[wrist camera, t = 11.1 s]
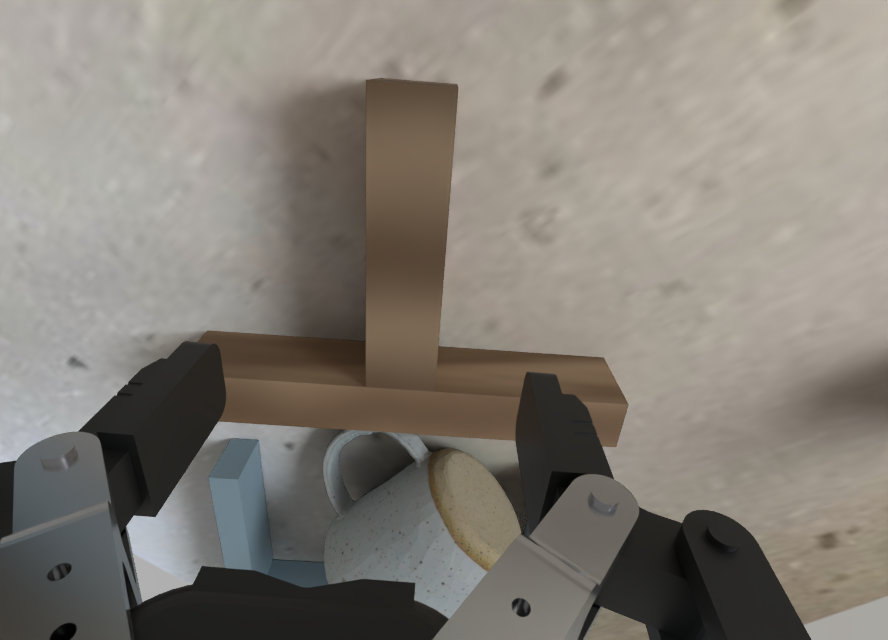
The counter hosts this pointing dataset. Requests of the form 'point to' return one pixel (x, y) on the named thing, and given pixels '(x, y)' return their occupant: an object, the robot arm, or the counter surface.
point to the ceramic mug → (419, 524)
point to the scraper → (403, 312)
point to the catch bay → (253, 518)
